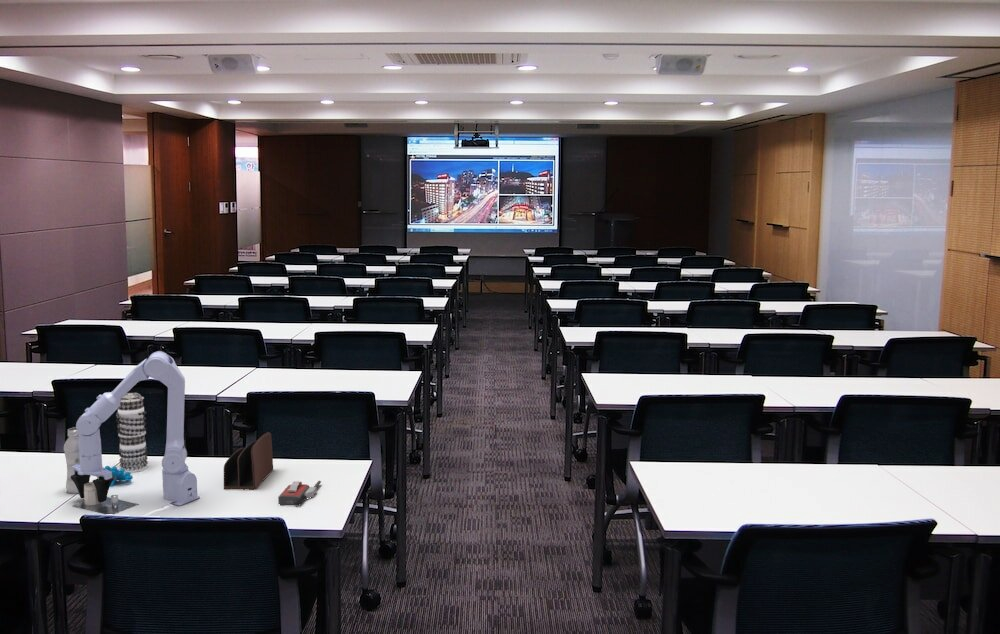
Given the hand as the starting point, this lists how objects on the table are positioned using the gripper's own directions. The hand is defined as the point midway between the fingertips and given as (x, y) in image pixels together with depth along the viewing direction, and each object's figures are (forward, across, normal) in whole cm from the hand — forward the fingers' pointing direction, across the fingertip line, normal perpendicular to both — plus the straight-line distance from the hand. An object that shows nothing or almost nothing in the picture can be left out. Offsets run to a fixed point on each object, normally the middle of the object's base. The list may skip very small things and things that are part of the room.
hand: (93, 499), depth 255 cm
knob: (+1, 0, 0) cm, 1 cm away
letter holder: (+2, +23, +39) cm, 45 cm away
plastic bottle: (+2, -13, +5) cm, 14 cm away
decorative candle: (+2, -18, +30) cm, 35 cm away
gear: (+2, -9, +15) cm, 17 cm away
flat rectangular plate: (+2, +5, 0) cm, 5 cm away
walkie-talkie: (+2, +47, +35) cm, 59 cm away
